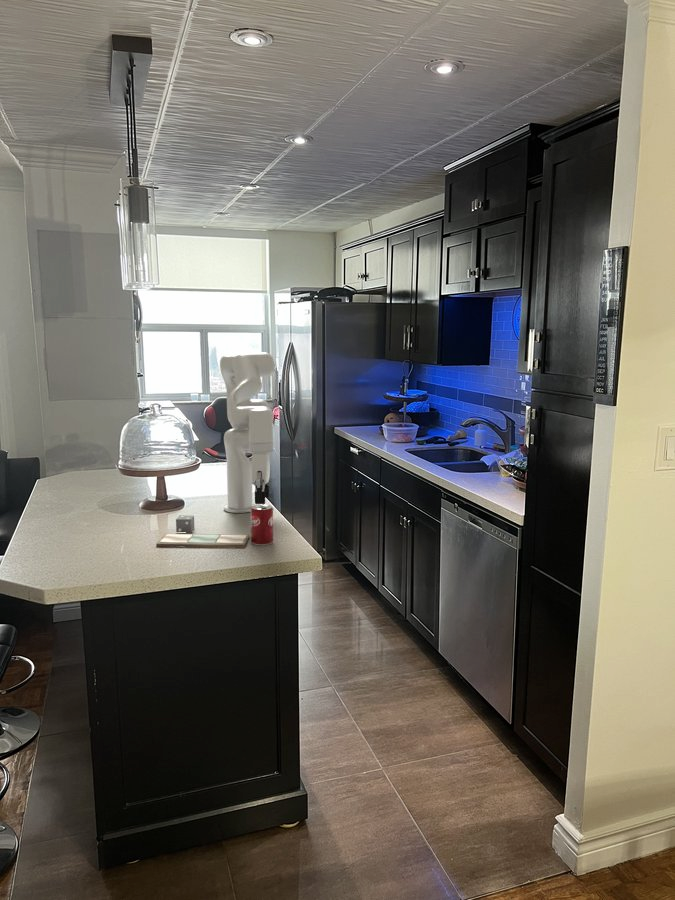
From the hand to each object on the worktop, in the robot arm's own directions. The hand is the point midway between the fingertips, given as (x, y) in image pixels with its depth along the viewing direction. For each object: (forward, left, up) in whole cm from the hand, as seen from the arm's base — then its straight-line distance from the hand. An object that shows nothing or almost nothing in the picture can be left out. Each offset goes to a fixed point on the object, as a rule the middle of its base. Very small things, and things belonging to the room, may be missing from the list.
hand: (262, 500), depth 214 cm
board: (-1, -19, -14) cm, 24 cm away
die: (-13, -28, -14) cm, 34 cm away
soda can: (-1, 0, -15) cm, 14 cm away
